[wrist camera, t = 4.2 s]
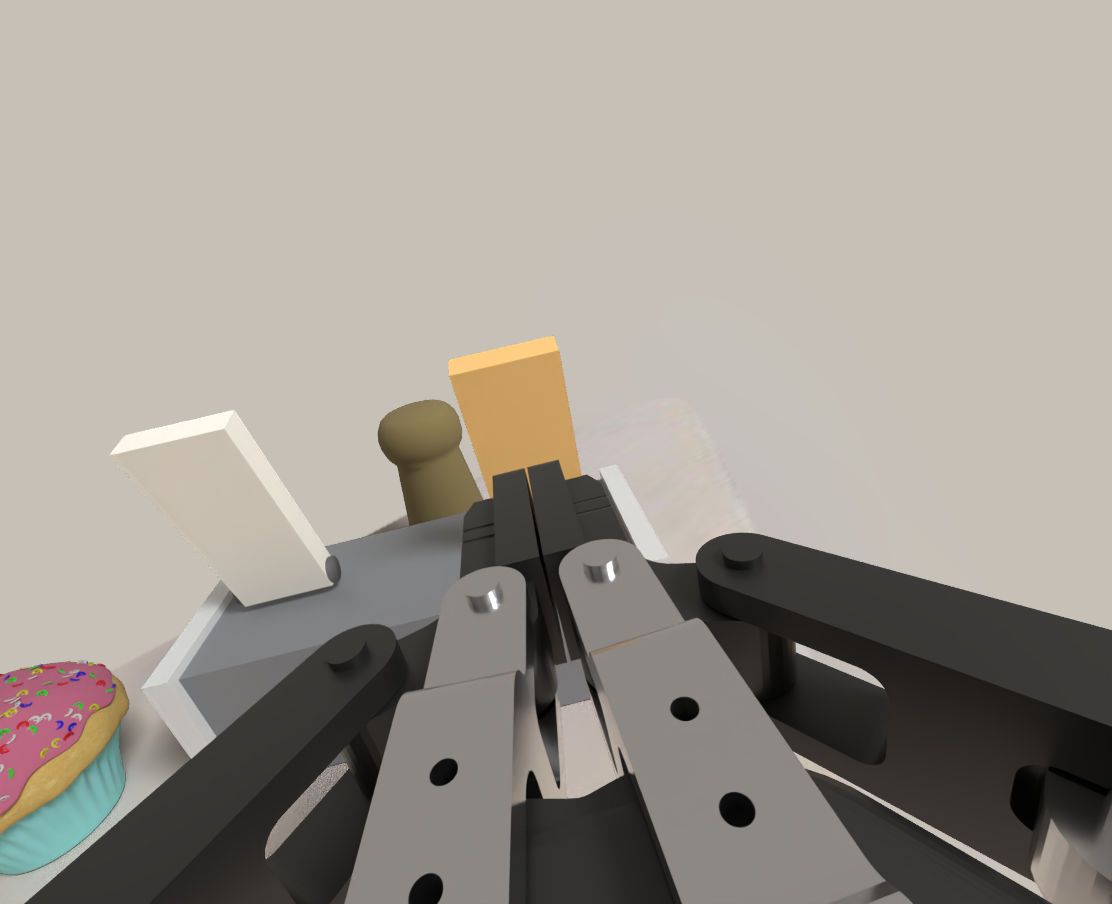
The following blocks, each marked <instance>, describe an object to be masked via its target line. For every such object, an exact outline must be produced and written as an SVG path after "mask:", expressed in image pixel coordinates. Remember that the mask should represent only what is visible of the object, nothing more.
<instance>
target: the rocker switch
mask: <svg viewBox="0 0 1112 904" xmlns="http://www.w3.org/2000/svg"><path fill="white" fill-rule="evenodd" d="M109 456H110V457H111V458H112V459H113V460H114V461H115V463H116V464H117V465H118V466H119V467H120V468H121V469H122V470H123V471H124V472H125V474H126V475H127V476H128V477H129V478H130V479H131V480H132V481H133V483H134V484H136V486H137V487H138V488H139V489H140V490H141V491H142V493H143V494H144V495H145V496H146V497H147V498H148V499H149V500H150V501H151V503H152V504H153V505H154V506H155V507H156V508H157V509H158V510H159V511H160V513H161V514H162V515H163V516H164V517H165V518H166V519H167V520H168V521H169V523H170V524H171V525H172V526H173V527H174V528H175V529H176V530H177V531H178V533H179V534H180V535H181V536H182V537H183V538H184V539H185V540H186V541H187V542H188V544H189V545H190V546H191V547H192V548H193V549H194V550H195V551H196V553H197V554H198V555H199V556H200V557H201V558H202V559H203V560H204V561H205V562H206V564H207V565H208V566H209V567H210V568H211V569H212V570H213V571H214V572H215V574H216V575H217V576H218V577H219V578H220V579H221V580H222V581H223V583H224V584H225V585H226V586H227V587H228V588H229V589H230V590H231V591H232V595H233V598H234V600H235V602H236V603H237V604H238V605H244V606H245V607H247V606H251V605H255V604H259V603H263V602H267V601H271V600H275V599H279V598H283V597H287V596H291V595H295V594H299V593H304V592H308V591H312V590H316V589H320V588H324V587H328V586H332V585H333V583H334V582H338V581H339V580H340V578H341V567H340V563H339V560H338V559H337V557H336V556H334V555H333V556H331V555H330V554H329V552H328V551H327V549H326V548H325V546H324V545H323V543H322V542H321V540H320V539H319V537H318V536H317V535H316V533H315V531H314V530H313V528H312V527H311V525H310V524H309V522H308V521H307V519H306V518H305V516H304V515H303V513H302V512H301V510H300V509H299V507H298V506H297V504H296V503H295V501H294V500H293V498H292V497H291V495H290V494H289V492H288V490H287V489H286V488H285V486H284V484H283V483H282V481H281V480H280V478H279V477H278V475H277V474H276V473H275V471H274V469H273V468H272V466H271V465H270V463H269V462H268V460H267V459H266V457H265V456H264V454H263V453H262V451H261V450H260V448H259V447H258V445H257V444H256V442H255V441H254V439H253V437H252V436H251V434H250V433H249V431H248V430H247V428H246V427H245V425H244V424H243V423H242V421H241V419H240V418H239V416H238V415H237V413H236V412H235V410H232V411H227V412H223V413H219V414H214V415H210V416H206V417H202V418H197V419H193V420H189V421H184V422H180V423H176V424H171V425H167V426H163V427H158V428H154V429H150V430H146V431H142V432H137V433H133V434H128V435H125V436H124V437H123V438H122V440H121V441H120V442H119V443H118V445H117V446H116V447H115V449H114V450H113V451H112V453H111V454H110V455H109Z"/></svg>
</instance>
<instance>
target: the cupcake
mask: <svg viewBox="0 0 1112 904" xmlns="http://www.w3.org/2000/svg"><path fill="white" fill-rule="evenodd" d="M128 709H129V700H128V697H127V694H126V691H125V688H124V685H123V684H122V682H121V681H120V680H119V679H118V678H117V677H115V676H114V675H113V674H111V672H110V670H108V669H107V668H105V665H103V664H97V665H96V664H94V663H88V662H87V661H84V660H82V661H78V662H70V661H68V662H61V663H50V664H44V665H43V664H41V665H37V666H34V667H24V668H21V669H20V670H16V671H12V672H9V673H6V674H0V873H3V874H8V875H15V874H22V873H26V872H29V871H32V870H35V869H37V868H40V867H42V866H44V865H46V864H48V863H50V862H52V861H54V860H55V859H57V858H59V857H60V856H62V855H63V854H65V853H66V852H68V851H69V850H71V849H72V848H73V847H75V846H76V845H77V844H79V843H80V842H81V841H82V840H83V839H85V838H86V837H87V836H88V835H89V834H90V833H91V832H92V831H93V830H94V829H95V828H96V827H97V826H98V825H99V824H100V823H101V822H102V821H103V820H104V819H105V818H106V816H107V815H108V814H109V813H110V811H111V810H112V809H113V807H114V806H115V804H116V803H117V801H118V799H119V798H120V796H121V793H122V791H123V788H124V785H125V772H124V768H123V764H122V759H121V754H120V749H119V733H120V725H121V719H122V718H123V716H124V715H125V714H126V712H127V711H128Z"/></svg>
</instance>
